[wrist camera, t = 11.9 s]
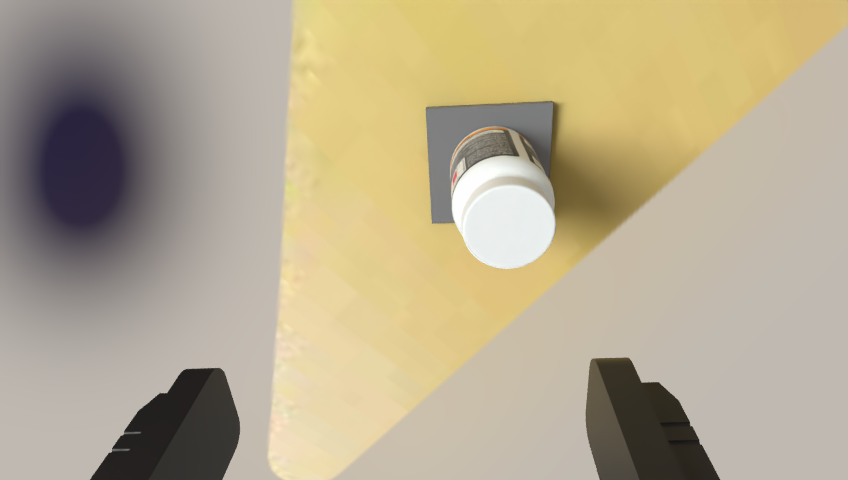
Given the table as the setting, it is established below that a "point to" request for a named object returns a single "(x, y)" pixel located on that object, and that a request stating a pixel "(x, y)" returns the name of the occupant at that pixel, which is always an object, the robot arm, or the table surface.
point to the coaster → (462, 120)
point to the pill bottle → (501, 198)
